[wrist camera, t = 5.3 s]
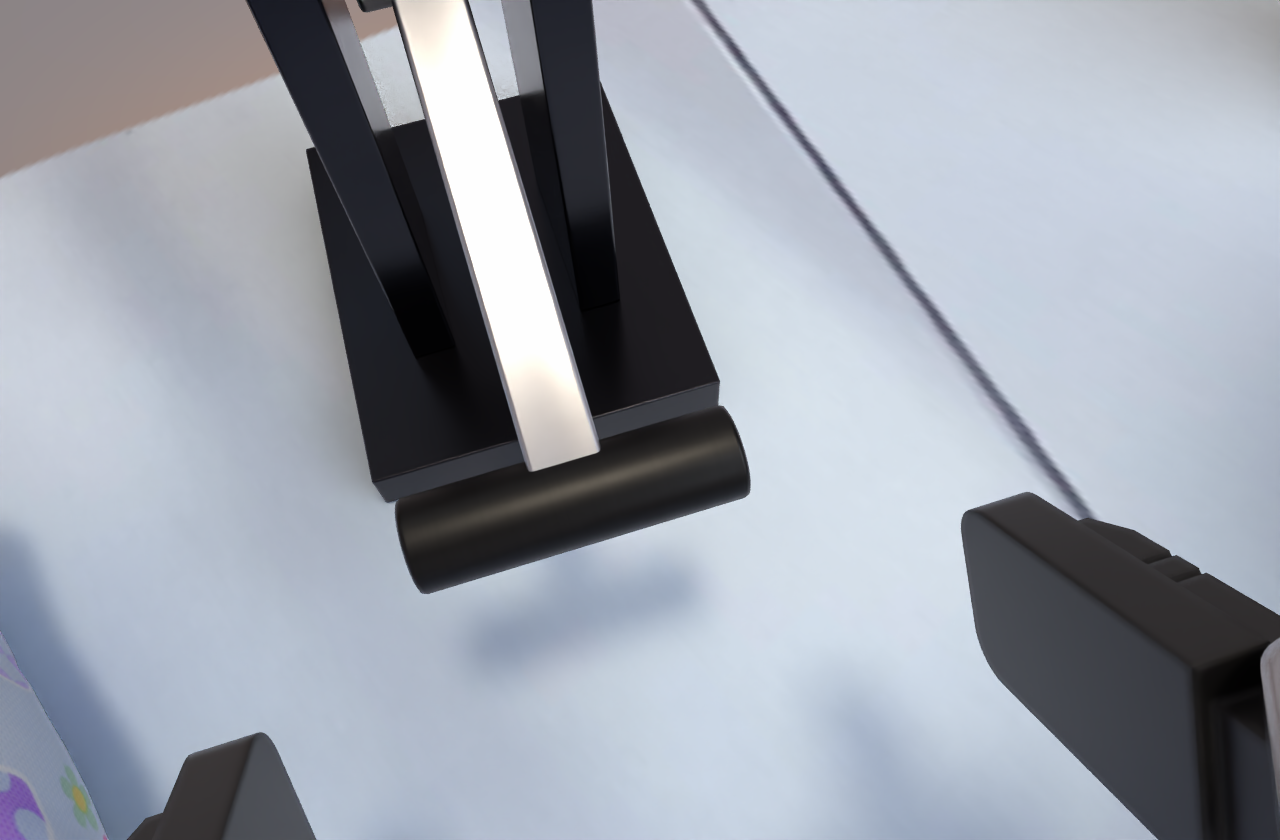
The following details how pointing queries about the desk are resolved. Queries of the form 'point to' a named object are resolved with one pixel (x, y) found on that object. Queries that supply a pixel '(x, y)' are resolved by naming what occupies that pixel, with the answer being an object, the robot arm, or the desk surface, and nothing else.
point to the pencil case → (37, 769)
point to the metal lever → (532, 359)
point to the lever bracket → (435, 261)
